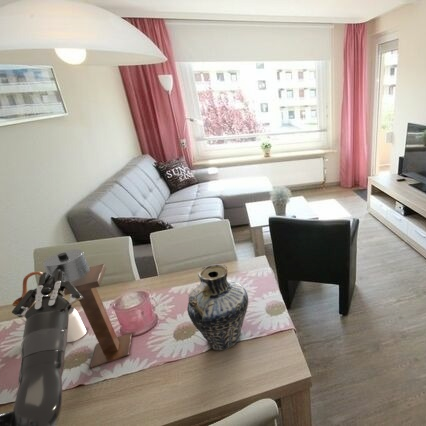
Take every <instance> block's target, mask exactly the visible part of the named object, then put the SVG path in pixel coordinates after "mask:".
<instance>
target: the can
mask: <svg viewBox="0 0 426 426" xmlns="http://www.w3.org/2000/svg"><path fill="white" fill-rule="evenodd" d="M86 334H87V329H86V327H85V325H84V323H83V320H82V318H81V316H80V314H79V312H78V310H77V309H75V307H73V306H72V307H71V309H70V310H69V321H68V335H67V343H72V342H76V341H78V340H80V339H81V338H83V337H84V336H85V335H86Z"/></svg>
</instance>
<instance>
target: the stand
mask: <svg viewBox="0 0 426 426" xmlns="http://www.w3.org/2000/svg"><path fill="white" fill-rule="evenodd" d="M89 268H90V271H89V272H88V273H87V274H86V275H85V276H83V277H81V278H80V279H77V280H75V281H72V282H70V283H71V284H72V285H73V286H74V287H75V288H76V289H77V291H78V292H79V293H80V294H81V295H82V296H83V298H84V299H83V300H82V301H79V303H80V306H81V308H82V310H83V312H84V315H85V317H86V319H87V321H88V323H89V325H90V328H91V330H92V331H93V334H94V336H95V338H96V341H97V343H96V345H95V350H94V352H93V356H92V359H91V363H90V365H89V369H94V368H97V367H100V366H102V365H105V364H108V363H112V362H114V361H117V360H120V359H123V358H126V357H128V356H130V350H131V343H132V338H133V332H130V333H127V334H124V335H123V334H122V335H121V336H117V333H116V331H115V329H114V327H113V324H112V322H111V319H110V317H109V315H108V312H107V310H106V308H105V305H104V303H103V301H102V299H101V296H100V294H99V291H98V289H97V288H99V287H101V284H102V282H103V279H104V276H105V274H106V271H107V267H106V264H105V263H102V264H97V265H93V266H89ZM64 293H65V296H68V295H70V294H71V293H70V292H69V291H68V289H65V291H64Z"/></svg>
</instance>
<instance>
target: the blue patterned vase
mask: <svg viewBox="0 0 426 426" xmlns="http://www.w3.org/2000/svg"><path fill="white" fill-rule="evenodd" d="M228 270H229V269H228V266H226V265H225V264H222V263H213V264H210V265H207V266H204V267H202V268H201V269H200V270H199V271H198V273H197V276H198V278H199V280H200V283H199V285H198V286H196V287H195V288H193V289H191V291H189V293H188V303H187V314H188V317H189V319H190V321H191V323H192V324H193V326H194V327H195V328H196V329H197V330H198V331H199V333H200V334H201V335H202V337H203V338H204V339H205V340H206V341H207V344H208V345H209V346H210V348H211V349H213V350H216V351H222V350H227V349H230V348H231V347H233V346H234V345H236V344H237V342H238V341H239V340H240V338H241V332H242V328H243V324H244V319H245V317H246V314H247V312H248V306H249V295H248V291H247V290H246V288H245V287H244V286H243V285H242V284H240V283H239V282H237V281H234V280H230V279H227V278H228Z"/></svg>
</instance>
